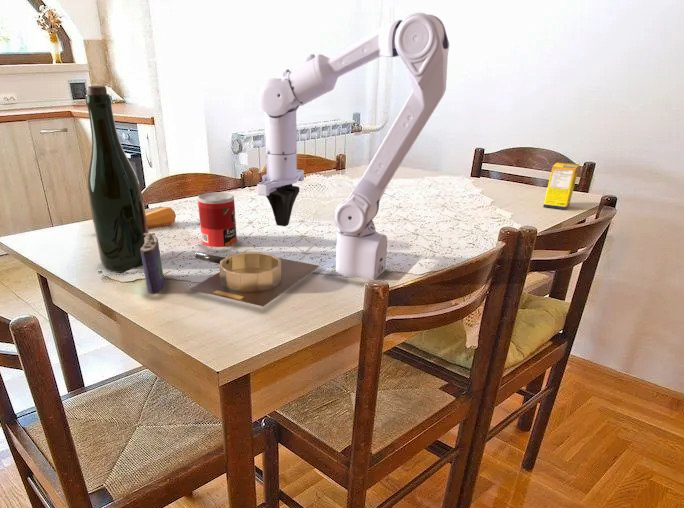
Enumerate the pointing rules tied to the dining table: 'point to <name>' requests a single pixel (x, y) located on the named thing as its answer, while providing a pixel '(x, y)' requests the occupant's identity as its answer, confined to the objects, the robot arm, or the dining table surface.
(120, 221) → the green wine bottle
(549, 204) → the supplement box
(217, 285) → the board
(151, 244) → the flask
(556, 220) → the dining table surface
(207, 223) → the canned food
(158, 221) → the carrot
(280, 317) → the dining table surface
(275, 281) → the pan
